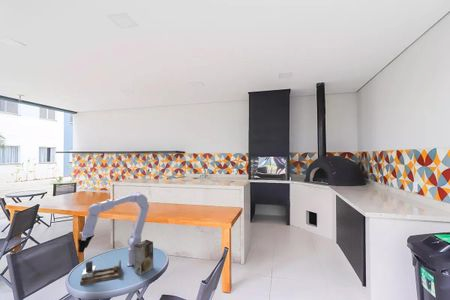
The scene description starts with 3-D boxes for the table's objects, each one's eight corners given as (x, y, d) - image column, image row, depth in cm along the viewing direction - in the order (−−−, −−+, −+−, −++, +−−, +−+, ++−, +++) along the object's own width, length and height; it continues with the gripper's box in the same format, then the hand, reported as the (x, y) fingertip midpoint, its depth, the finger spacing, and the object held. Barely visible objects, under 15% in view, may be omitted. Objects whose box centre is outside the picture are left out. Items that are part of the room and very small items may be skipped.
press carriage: (95, 268, 125) (95, 258, 125) (92, 276, 117) (92, 265, 117) (85, 270, 123) (85, 260, 123) (81, 278, 115) (81, 266, 116)
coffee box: (146, 265, 133) (146, 239, 134) (153, 268, 130) (153, 241, 130) (133, 272, 126) (133, 244, 126) (141, 275, 122) (141, 247, 123)
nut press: (121, 268, 130) (121, 259, 130) (119, 277, 121) (119, 267, 121) (85, 274, 124) (85, 265, 124) (80, 284, 114) (80, 274, 114)
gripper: (85, 221, 129) (78, 244, 127) (78, 227, 116) (70, 253, 113) (98, 223, 131) (91, 246, 129) (92, 229, 118) (85, 255, 115)
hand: (82, 249), depth 121 cm, fingers open, 7 cm apart
